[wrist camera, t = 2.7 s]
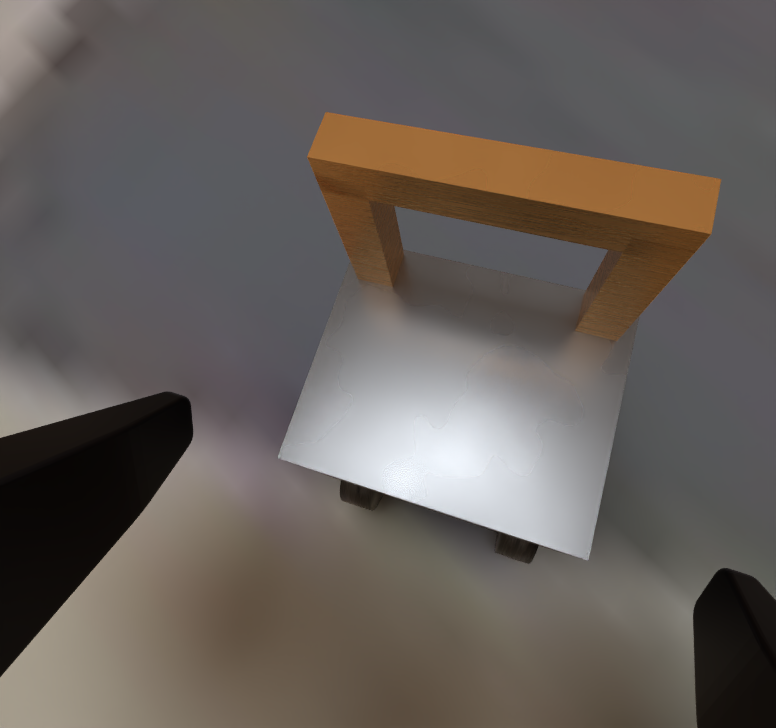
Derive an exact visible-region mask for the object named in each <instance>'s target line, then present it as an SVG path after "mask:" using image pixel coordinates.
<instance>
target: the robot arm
mask: <svg viewBox="0 0 776 728" xmlns="http://www.w3.org/2000/svg"><path fill="white" fill-rule="evenodd" d="M192 437H193V423H192V412H191V403H190V401H189V399H188V398H187V397H185V396H182V395H179V394H176V393H173V392H162V393H159V394H155V395H152V396H148V397H145V398H141V399H137V400H134V401H130V402H127V403H123V404H120V405H116V406H113V407H109V408H105V409H102V410H98V411H95V412H91V413H88V414H84V415H80V416H77V417H73V418H70V419H66V420H63V421H59V422H56V423H52V424H48V425H45V426H41V427H38V428H34V429H31V430H27V431H23V432H20V433H16V434H13V435H9V436H6V437H2V438H0V677H1V676H2V675H3V673H4V672H5V671H6V670H7V669H8V668H9V666H10V665H11V664H12V663H13V662H14V661H15V659H16V658H17V657H18V656H19V655H20V654H21V652H22V651H23V650H24V649H25V648H26V647H27V646H28V644H29V643H30V642H31V641H32V640H33V639H34V637H35V636H36V635H37V634H38V633H39V632H40V630H41V629H42V628H43V627H44V626H45V625H46V623H47V622H48V621H49V620H50V619H51V618H52V617H53V615H54V614H55V613H56V612H57V611H58V610H59V608H60V607H61V606H62V605H63V604H64V603H65V601H66V600H67V599H68V598H69V597H70V596H71V594H72V593H73V592H74V591H75V590H76V589H77V587H78V586H79V585H80V584H81V583H82V582H83V581H84V579H85V578H86V577H87V576H88V575H89V574H90V572H91V571H92V570H93V569H94V568H95V567H96V565H97V564H98V563H99V562H100V561H101V560H102V558H103V557H104V556H105V555H106V554H107V553H108V551H109V550H110V549H111V548H112V547H113V546H114V545H115V543H116V542H117V541H118V540H119V539H120V538H121V536H122V535H123V534H124V533H125V532H126V531H127V529H128V528H129V527H130V526H131V525H132V524H133V522H134V521H135V520H136V519H137V518H138V516H139V515H140V514H141V513H142V511H143V510H144V509H145V507H146V506H147V505H148V503H149V502H150V501H151V499H152V498H153V497H154V495H155V494H156V492H157V491H158V489H159V488H160V487H161V485H162V484H163V482H164V481H165V479H166V478H167V477H168V475H169V474H170V472H171V471H172V469H173V468H174V467H175V465H176V464H177V462H178V461H179V459H180V458H181V457H182V455H183V454H184V452H185V451H186V449H187V448H188V447H189V445H190V443H191V441H192ZM693 630H694V662H695V694H696V715H697V727H698V728H776V600H775V599H774V598H773V597H772V596H771V595H770V593H769V592H768V591H767V590H766V589H765V588H764V587H763V586H762V585H761V583H760V582H759V581H758V580H757V579H755V578H754V577H752V576H750V575H747V574H744V573H741V572H738V571H735V570H732V569H728V568H722V569H720V570H718V571H717V572H716V573H715V575H714V576H713V578H712V579H711V581H710V582H709V584H708V585H707V586H706V588H705V589H704V591H703V592H702V594H701V595H700V597H699V598H698V600H697V601H696V604H695V607H694V612H693Z"/></svg>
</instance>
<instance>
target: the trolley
mask: <svg viewBox="0 0 776 728" xmlns="http://www.w3.org/2000/svg"><path fill="white" fill-rule="evenodd" d="M307 158H308V160H309V162H310V165H311V167H312V170H313V172H314V174H315V177H316V179H317V182H318V184H319V186H320V189H321V191H322V194H323V196H324V199H325V201H326V203H327V206H328V208H329V211H330V213H331V215H332V218H333V220H334V223H335V225H336V227H337V230H338V232H339V235H340V237H341V239H342V242H343V244H344V247H345V249H346V251H347V254H348V256H349V259H350V263H349V266H348V269H347V271H346V274H345V277H344V279H343V282H342V285H341V287H340V290H339V293H338V296H337V298H336V301H335V304H334V306H333V309H332V312H331V315H330V317H329V320H328V323H327V325H326V328H325V331H324V333H323V336H322V339H321V342H320V344H319V347H318V350H317V352H316V355H315V358H314V360H313V363H312V366H311V369H310V371H309V374H308V377H307V379H306V382H305V385H304V387H303V390H302V393H301V396H300V398H299V401H298V404H297V406H296V409H295V412H294V414H293V417H292V420H291V423H290V425H289V428H288V431H287V433H286V436H285V439H284V441H283V444H282V447H281V450H280V452H279V455H278V458H279V459H282V460H285V461H288V462H290V463H293V464H296V465H299V466H302V467H305V468H308V469H311V470H313V471H316V472H319V473H322V474H325V475H328V476H331V477H333V478H336V479H339V480H341V485H340V497H341V500H342V501H345V502H347V503H350V504H353V505H356V506H359V507H362V508H365V509H368V510H371V511H373V510H374V509H375V508H376V507H377V505H378V503H379V502H380V500H381V497H382V495H383V494H384V495H387V496H390V497H393V498H396V499H399V500H402V501H405V502H408V503H411V504H414V505H417V506H420V507H423V508H426V509H429V510H432V511H435V512H438V513H441V514H444V515H448V516H451V517H454V518H457V519H460V520H463V521H466V522H469V523H472V524H475V525H478V526H481V527H484V528H487V529H490V530H493V531H496V532H497V537H496V543H495V553H498V554H501V555H504V556H506V557H509V558H512V559H515V560H518V561H521V562H524V563H527V564H530V563H531V561H532V560H533V558H534V556H535V554H536V551H537V549H538V546H542V547H545V548H549V549H552V550H555V551H558V552H562V553H565V554H568V555H572V556H575V557H578V558H581V559H585V560H589V555H590V550H591V545H592V541H593V536H594V531H595V526H596V521H597V517H598V512H599V507H600V502H601V497H602V493H603V488H604V483H605V478H606V473H607V469H608V464H609V459H610V454H611V449H612V445H613V440H614V435H615V430H616V426H617V421H618V416H619V411H620V406H621V402H622V397H623V392H624V387H625V382H626V378H627V373H628V368H629V363H630V358H631V354H632V349H633V344H634V339H635V334H636V330H637V325H638V320H639V316H640V314H641V313H642V312H643V311H644V310H645V309H646V308H647V306H648V305H649V304H650V303H651V302H652V301H653V300H654V299H655V297H656V296H657V295H658V294H659V293H660V292H661V291H662V289H663V288H664V287H665V286H666V285H667V284H668V283H669V281H670V280H671V279H672V278H673V277H674V276H675V275H676V274H677V272H678V271H679V270H680V269H681V268H682V267H683V266H684V264H685V263H686V262H687V261H688V260H689V259H690V258H691V257H692V255H693V254H694V253H695V252H696V251H697V250H698V249H699V247H700V246H701V245H702V244H703V243H704V242H705V241H706V239H707V238H708V237H709V236H710V235H711V233H712V227H713V222H714V216H715V211H716V205H717V199H718V194H719V188H720V183H721V179H717V178H711V177H706V176H700V175H694V174H688V173H682V172H676V171H670V170H664V169H658V168H652V167H647V166H641V165H635V164H629V163H623V162H617V161H611V160H605V159H599V158H593V157H588V156H582V155H576V154H570V153H564V152H558V151H552V150H546V149H540V148H534V147H528V146H523V145H517V144H511V143H505V142H499V141H493V140H487V139H481V138H475V137H469V136H464V135H458V134H452V133H446V132H440V131H434V130H428V129H422V128H416V127H410V126H405V125H399V124H393V123H387V122H381V121H375V120H369V119H363V118H357V117H351V116H346V115H340V114H334V113H328V112H326V113H325V115H324V118H323V120H322V123H321V125H320V127H319V130H318V132H317V135H316V137H315V139H314V142H313V144H312V147H311V149H310V151H309V154H308V156H307ZM394 206H397V207H402V208H407V209H412V210H417V211H422V212H427V213H432V214H437V215H441V216H446V217H451V218H456V219H461V220H466V221H471V222H476V223H480V224H485V225H490V226H495V227H500V228H505V229H510V230H515V231H520V232H524V233H529V234H534V235H539V236H544V237H549V238H554V239H559V240H563V241H568V242H573V243H578V244H583V245H588V246H593V247H598V248H603V249H607V250H608V252H607V254H606V255H605V257H604V259H603V261H602V263H601V264H600V266H599V268H598V270H597V272H596V274H595V275H594V277H593V279H592V281H591V283H590V284H589V286H588V288H587V290H581V289H577V288H572V287H568V286H563V285H559V284H554V283H550V282H545V281H541V280H536V279H532V278H527V277H523V276H518V275H514V274H509V273H505V272H501V271H496V270H492V269H487V268H483V267H478V266H474V265H469V264H465V263H460V262H456V261H451V260H447V259H442V258H438V257H433V256H429V255H424V254H420V253H415V252H411V251H406V250H403V247H402V242H401V237H400V232H399V227H398V222H397V217H396V212H395V208H394Z"/></svg>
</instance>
